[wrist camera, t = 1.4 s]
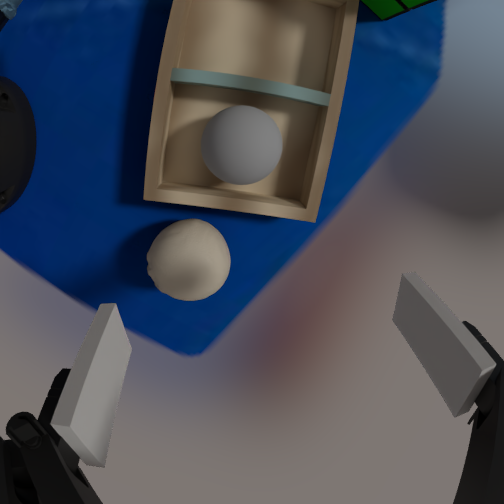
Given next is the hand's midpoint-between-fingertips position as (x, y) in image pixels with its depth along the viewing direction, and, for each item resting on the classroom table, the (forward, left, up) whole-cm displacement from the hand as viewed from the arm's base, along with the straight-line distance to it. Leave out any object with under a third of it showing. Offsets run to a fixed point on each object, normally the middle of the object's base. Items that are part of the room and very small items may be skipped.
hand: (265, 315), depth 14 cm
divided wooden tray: (-1, +10, -16) cm, 20 cm away
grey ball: (-1, +6, -16) cm, 17 cm away
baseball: (-4, -5, -17) cm, 18 cm away
